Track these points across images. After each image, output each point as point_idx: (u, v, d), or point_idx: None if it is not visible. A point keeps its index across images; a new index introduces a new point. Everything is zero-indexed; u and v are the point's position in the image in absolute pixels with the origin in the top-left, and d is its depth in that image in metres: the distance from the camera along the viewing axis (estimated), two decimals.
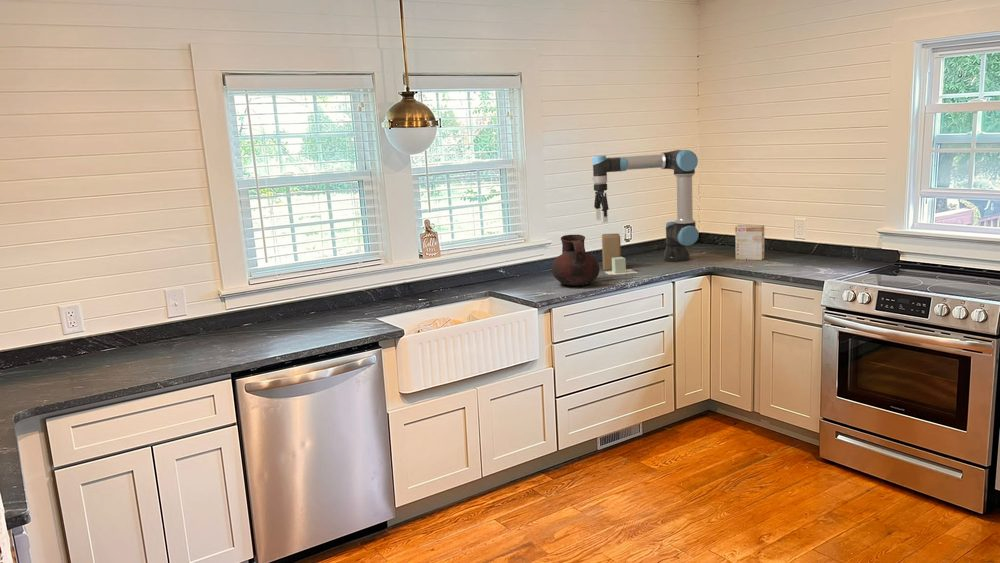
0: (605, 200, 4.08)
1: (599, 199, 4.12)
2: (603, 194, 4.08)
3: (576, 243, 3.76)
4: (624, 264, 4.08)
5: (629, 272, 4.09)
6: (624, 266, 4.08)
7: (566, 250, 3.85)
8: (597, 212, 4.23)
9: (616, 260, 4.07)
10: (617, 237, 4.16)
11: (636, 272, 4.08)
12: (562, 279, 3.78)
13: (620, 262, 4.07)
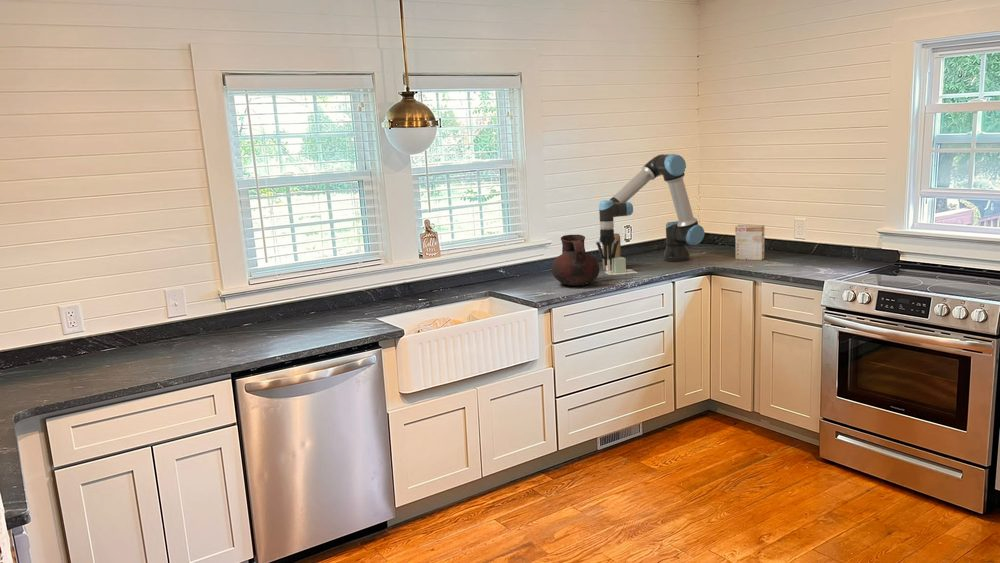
0: (599, 250, 4.07)
1: None
2: None
3: (576, 243, 3.76)
4: (624, 264, 4.08)
5: (629, 272, 4.09)
6: (624, 266, 4.08)
7: (566, 250, 3.85)
8: None
9: (616, 260, 4.07)
10: (617, 237, 4.15)
11: (636, 272, 4.08)
12: (562, 279, 3.78)
13: (620, 262, 4.07)
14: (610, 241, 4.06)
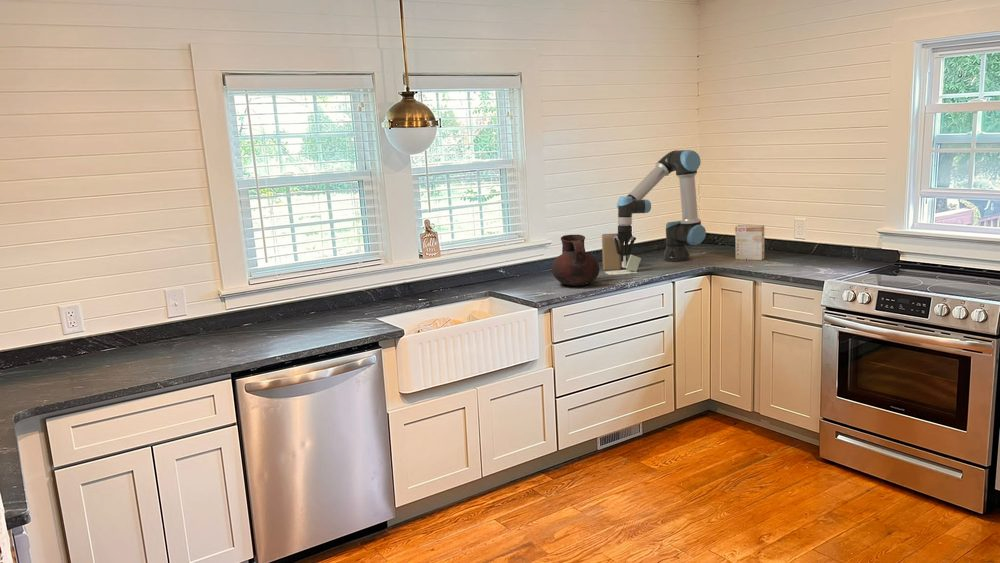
0: (616, 245, 4.08)
1: None
2: (613, 239, 4.08)
3: (576, 243, 3.76)
4: (638, 263, 4.09)
5: (629, 272, 4.09)
6: (637, 265, 4.09)
7: (566, 250, 3.85)
8: None
9: (632, 256, 4.08)
10: None
11: (636, 272, 4.08)
12: (562, 279, 3.78)
13: (635, 259, 4.08)
14: (627, 237, 4.07)
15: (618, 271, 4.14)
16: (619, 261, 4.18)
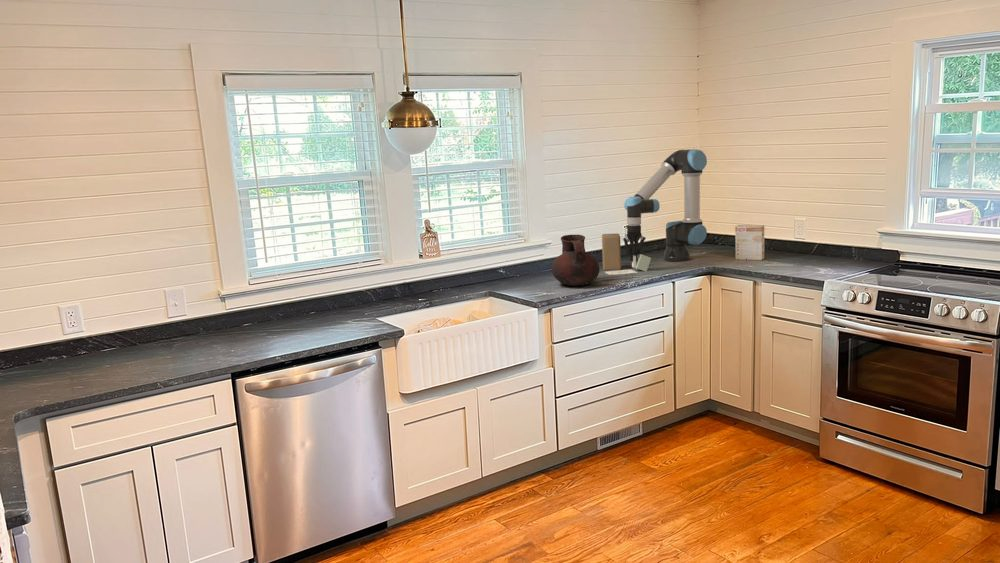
0: (625, 245, 4.09)
1: None
2: (623, 240, 4.09)
3: (576, 243, 3.76)
4: (648, 263, 4.10)
5: (629, 272, 4.09)
6: (647, 265, 4.10)
7: (566, 250, 3.85)
8: None
9: (642, 256, 4.09)
10: (617, 237, 4.15)
11: (636, 272, 4.08)
12: (562, 279, 3.78)
13: (645, 259, 4.09)
14: (637, 237, 4.08)
15: (618, 271, 4.14)
16: (619, 261, 4.18)
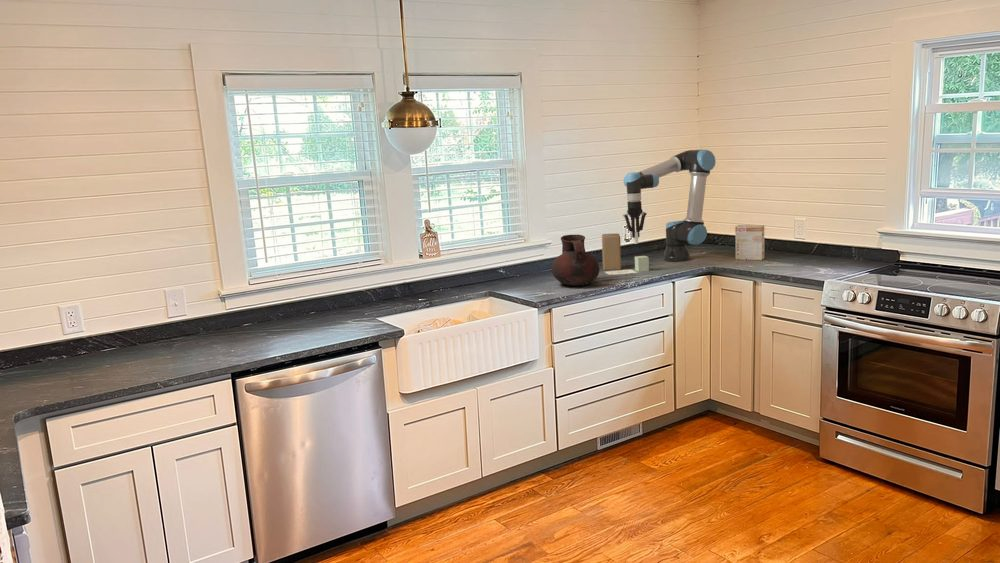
0: (627, 222, 4.07)
1: None
2: (624, 216, 4.07)
3: (576, 243, 3.76)
4: (647, 263, 4.10)
5: (629, 272, 4.09)
6: (647, 265, 4.10)
7: (566, 250, 3.85)
8: None
9: (639, 259, 4.09)
10: (617, 237, 4.15)
11: (636, 272, 4.08)
12: (562, 279, 3.78)
13: (643, 261, 4.09)
14: (638, 213, 4.05)
15: (618, 271, 4.14)
16: (619, 261, 4.18)
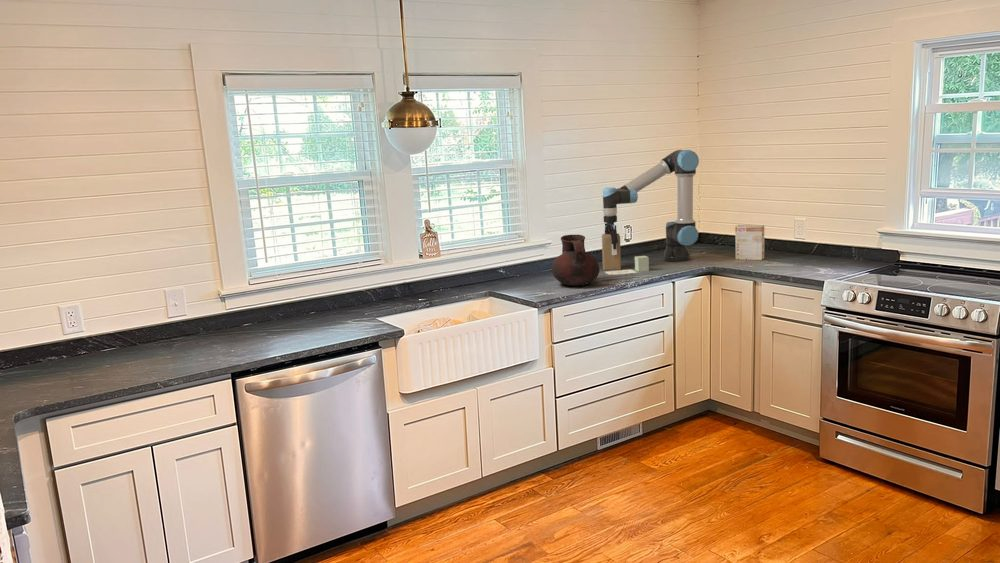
0: (615, 233, 4.13)
1: (609, 231, 4.17)
2: (613, 227, 4.13)
3: (576, 243, 3.76)
4: (647, 263, 4.10)
5: (629, 272, 4.09)
6: (647, 265, 4.10)
7: (566, 250, 3.85)
8: None
9: (639, 259, 4.09)
10: (617, 237, 4.15)
11: (636, 272, 4.08)
12: (562, 279, 3.78)
13: (643, 261, 4.09)
14: None
15: (618, 271, 4.14)
16: (619, 261, 4.18)
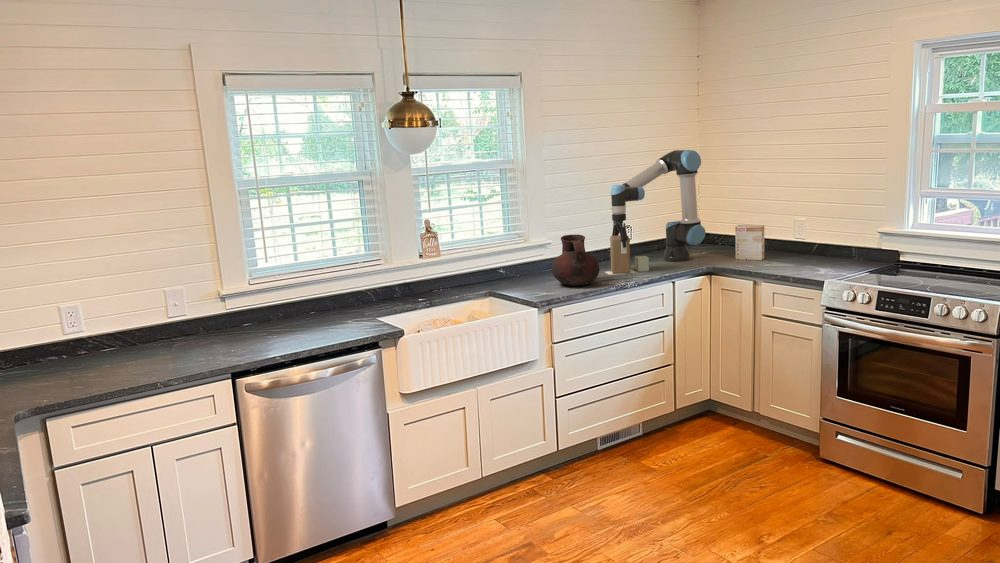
0: (624, 231, 3.99)
1: (618, 229, 4.04)
2: (622, 225, 4.00)
3: (576, 243, 3.76)
4: (647, 263, 4.10)
5: None
6: (647, 265, 4.10)
7: (566, 250, 3.85)
8: None
9: (639, 259, 4.09)
10: None
11: (636, 272, 4.08)
12: (562, 279, 3.78)
13: (643, 261, 4.09)
14: None
15: None
16: (628, 264, 4.05)
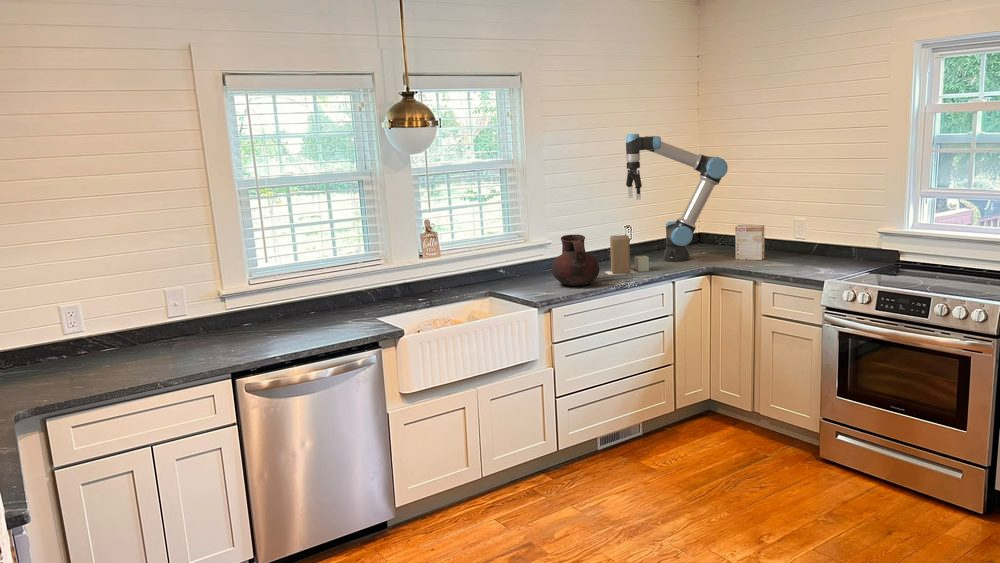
0: (638, 177, 4.14)
1: (632, 177, 4.19)
2: (636, 172, 4.15)
3: (576, 243, 3.76)
4: (647, 263, 4.10)
5: None
6: (647, 265, 4.10)
7: (566, 250, 3.85)
8: (629, 190, 4.29)
9: (639, 259, 4.09)
10: (626, 239, 4.03)
11: (636, 272, 4.08)
12: (562, 279, 3.78)
13: (643, 261, 4.09)
14: None
15: None
16: (628, 264, 4.05)
